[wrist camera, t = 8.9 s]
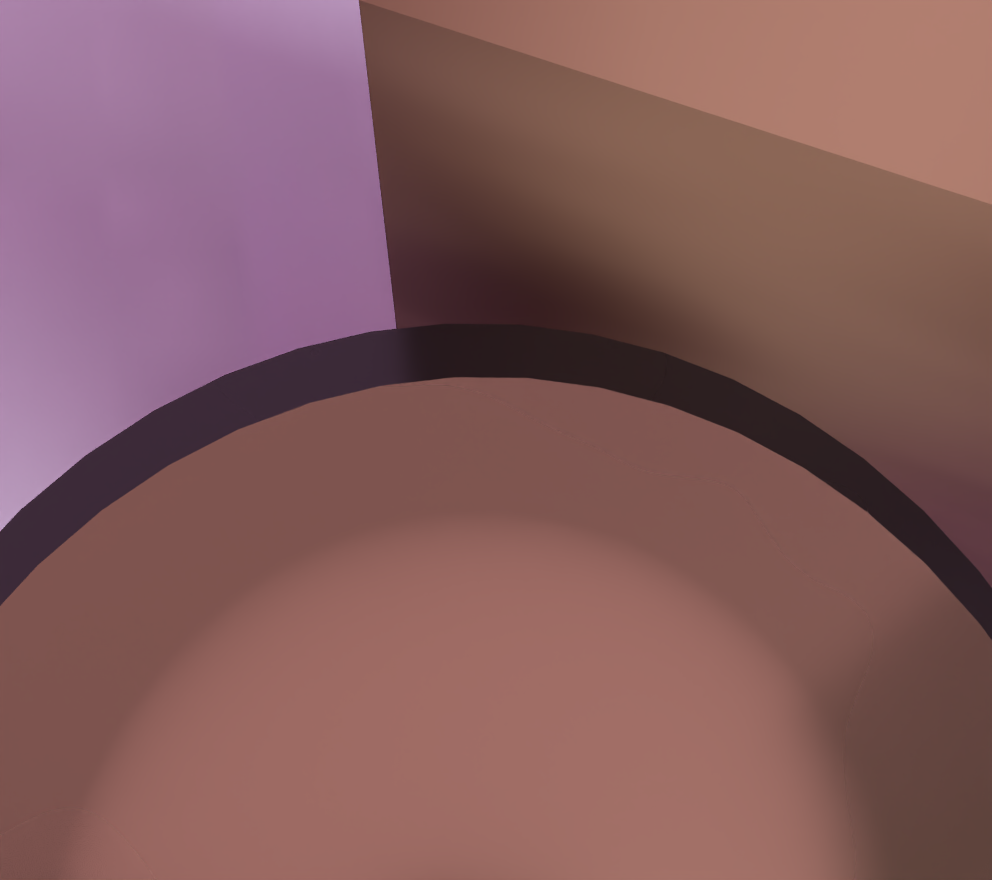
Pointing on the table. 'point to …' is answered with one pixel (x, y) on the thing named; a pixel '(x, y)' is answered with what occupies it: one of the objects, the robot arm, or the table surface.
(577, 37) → the door
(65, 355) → the table surface
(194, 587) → the dark metallic tumbler
